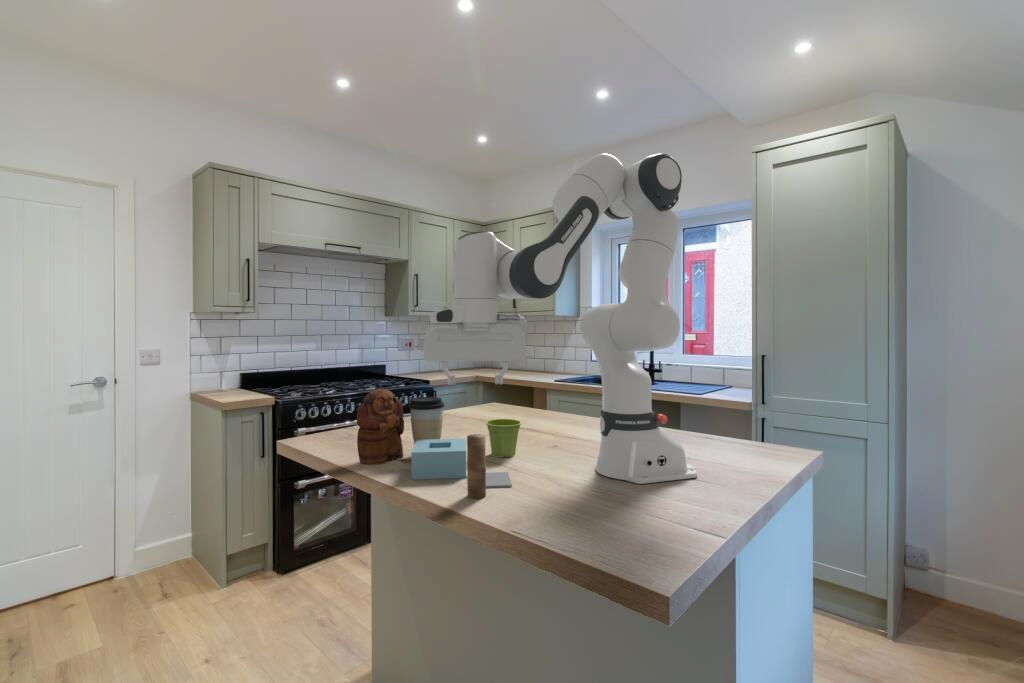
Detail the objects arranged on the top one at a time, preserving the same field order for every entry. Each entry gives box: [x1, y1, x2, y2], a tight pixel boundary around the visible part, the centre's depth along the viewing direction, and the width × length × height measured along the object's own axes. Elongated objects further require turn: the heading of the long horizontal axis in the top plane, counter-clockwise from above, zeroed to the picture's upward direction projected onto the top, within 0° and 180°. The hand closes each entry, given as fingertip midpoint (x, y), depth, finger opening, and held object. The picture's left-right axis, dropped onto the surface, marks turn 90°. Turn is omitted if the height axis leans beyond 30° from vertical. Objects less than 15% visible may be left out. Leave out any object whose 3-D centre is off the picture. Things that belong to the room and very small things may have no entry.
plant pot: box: [485, 418, 522, 458], centre depth 127 cm, size 9×9×9 cm
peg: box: [466, 433, 487, 500], centre depth 96 cm, size 4×4×12 cm
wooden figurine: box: [356, 388, 405, 465], centre depth 123 cm, size 12×6×18 cm, turn 142°
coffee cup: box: [407, 396, 445, 446], centre depth 126 cm, size 9×9×15 cm
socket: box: [410, 437, 467, 480], centre depth 113 cm, size 12×12×6 cm
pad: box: [486, 471, 513, 489], centre depth 106 cm, size 9×9×1 cm
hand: (475, 384), depth 96 cm, fingers open, 8 cm apart
